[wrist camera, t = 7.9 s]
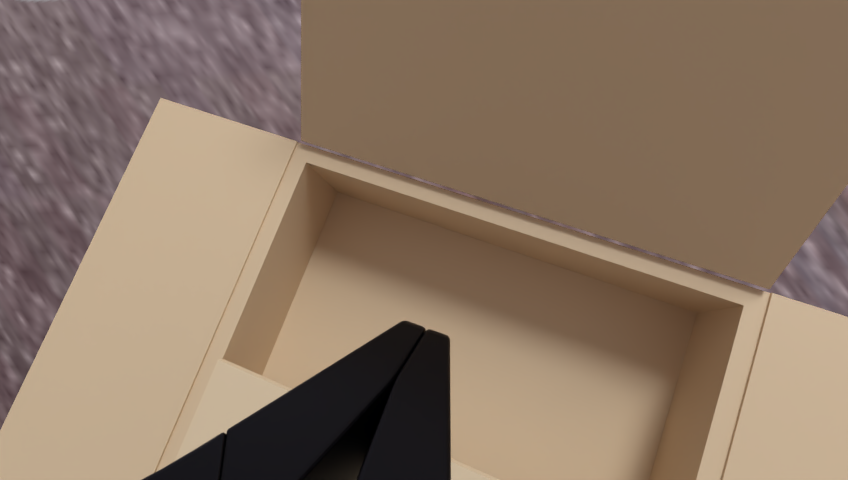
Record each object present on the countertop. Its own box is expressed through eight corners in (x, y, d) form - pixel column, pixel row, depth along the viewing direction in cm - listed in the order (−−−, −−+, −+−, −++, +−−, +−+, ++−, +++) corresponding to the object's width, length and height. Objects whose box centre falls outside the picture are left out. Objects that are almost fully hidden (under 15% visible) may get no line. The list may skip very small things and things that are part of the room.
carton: (779, 871, 15) (892, 1082, 11) (61, 483, 21) (-53, 519, 17) (893, 363, 17) (1024, 369, 13) (218, 140, 23) (154, 93, 19)
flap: (1013, -39, 10) (1002, -42, 10) (301, -164, 13) (309, -162, 13) (769, 289, 15) (766, 281, 15) (301, 140, 18) (307, 136, 18)
